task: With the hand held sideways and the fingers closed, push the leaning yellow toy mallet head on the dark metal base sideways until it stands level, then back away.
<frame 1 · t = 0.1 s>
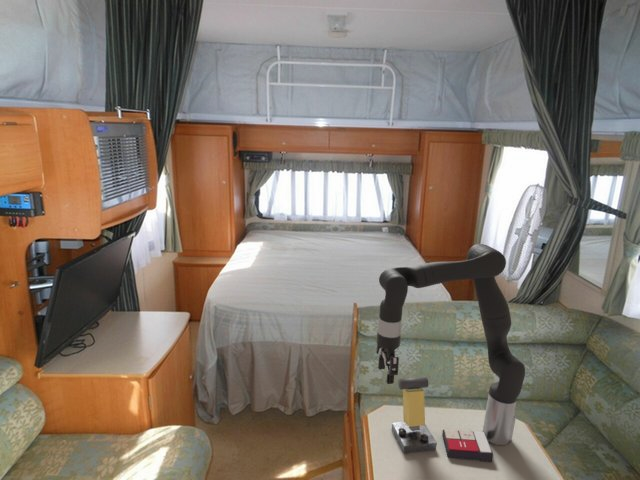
hand: (385, 375, 140), 29 cm above the table, tool pointing down, fingers open, 8 cm apart
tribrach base: (413, 439, 153), on the table
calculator: (465, 449, 150), on the table
yellow toy mallet: (413, 403, 152), point 13 cm above the table, hinge at 17.0°
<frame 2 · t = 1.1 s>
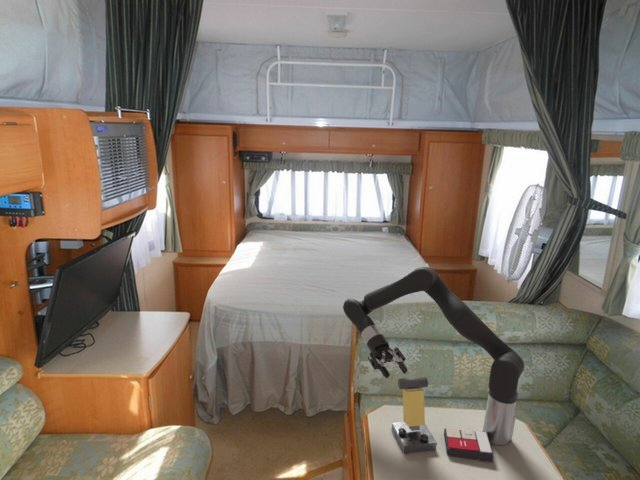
hand: (397, 374, 154), 22 cm above the table, tool tilted 65°, fingers open, 8 cm apart
yellow toy mallet: (413, 403, 152), point 13 cm above the table, hinge at 18.0°
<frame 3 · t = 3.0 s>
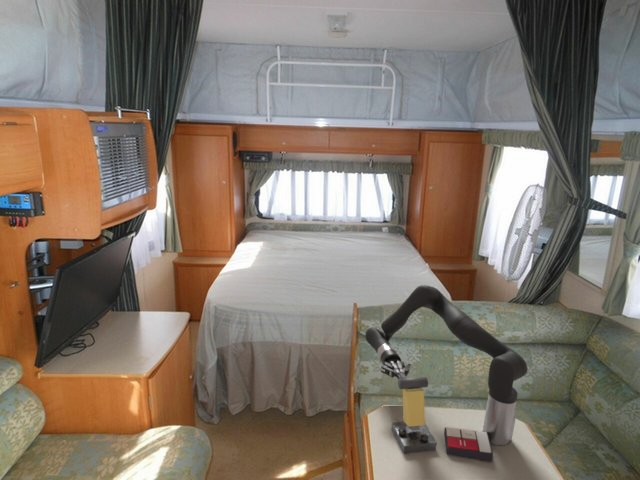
hand: (404, 380, 161), 16 cm above the table, tool horizontal, fingers closed
nothing on the table moved.
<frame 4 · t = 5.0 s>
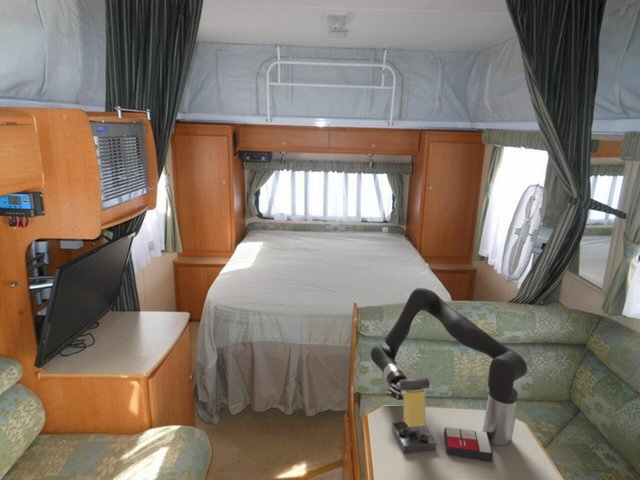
hand: (411, 404, 154), 11 cm above the table, tool horizontal, fingers closed
yellow toy mallet: (414, 403, 152), point 13 cm above the table, hinge at 14.2°, touching gripper
everything else where it was.
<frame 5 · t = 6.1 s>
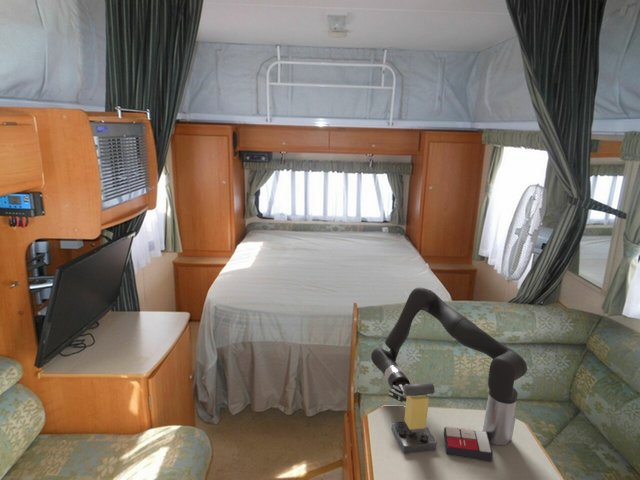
hand: (413, 405, 152), 12 cm above the table, tool horizontal, fingers closed
yellow toy mallet: (416, 407, 150), point 13 cm above the table, hinge at 0.1°, touching gripper
everything else where it was.
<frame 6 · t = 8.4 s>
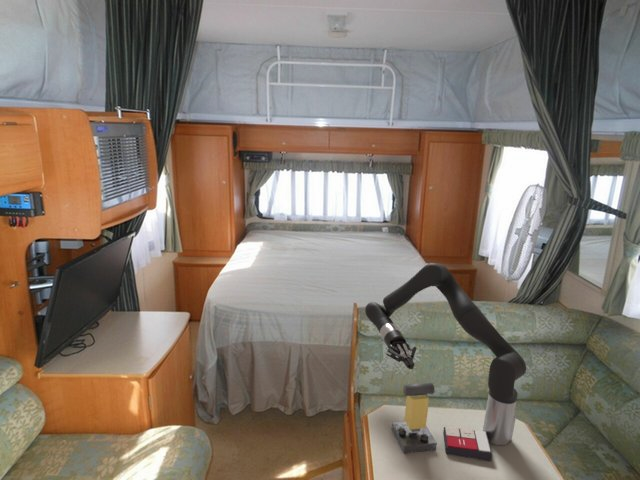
hand: (411, 367, 156), 24 cm above the table, tool horizontal, fingers closed
yellow toy mallet: (416, 407, 150), point 13 cm above the table, hinge at 0.1°
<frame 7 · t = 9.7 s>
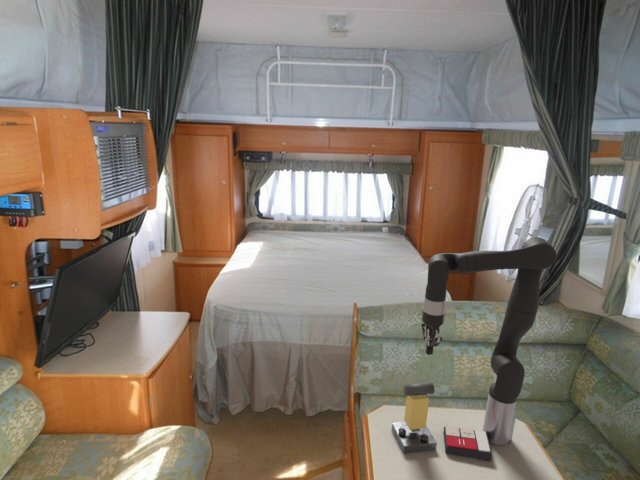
hand: (428, 353, 156), 29 cm above the table, tool pointing down, fingers closed
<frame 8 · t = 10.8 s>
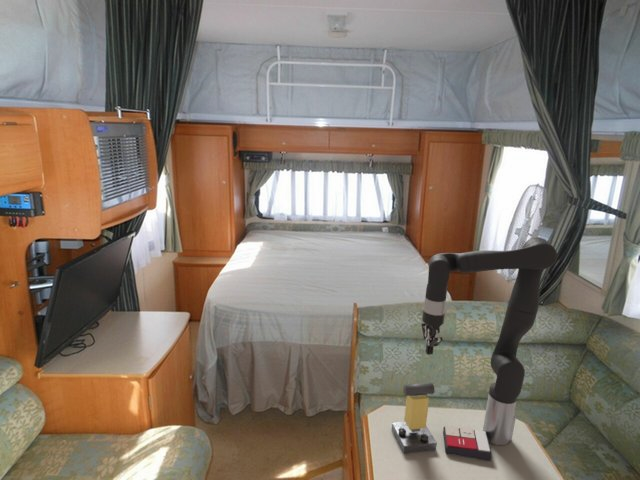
hand: (429, 353, 155), 29 cm above the table, tool pointing down, fingers closed
at the end: yellow toy mallet at +0° (first picture: +17°); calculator moved 1.6 cm from its start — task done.
